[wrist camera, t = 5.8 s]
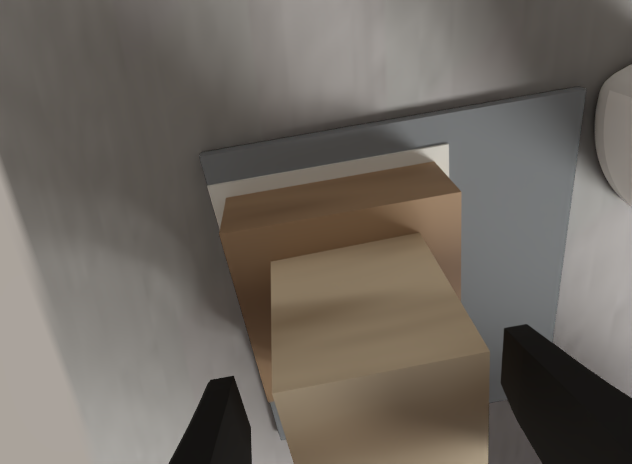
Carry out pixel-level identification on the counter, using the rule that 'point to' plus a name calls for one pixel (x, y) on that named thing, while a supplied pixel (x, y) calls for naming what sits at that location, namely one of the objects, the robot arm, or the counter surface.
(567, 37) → the counter surface
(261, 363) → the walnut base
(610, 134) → the eye dropper bottle
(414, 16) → the counter surface
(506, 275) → the slate mat
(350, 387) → the beech block
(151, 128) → the counter surface
